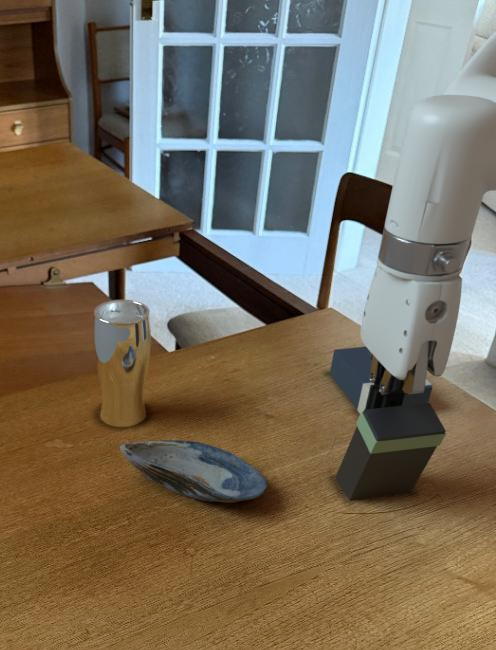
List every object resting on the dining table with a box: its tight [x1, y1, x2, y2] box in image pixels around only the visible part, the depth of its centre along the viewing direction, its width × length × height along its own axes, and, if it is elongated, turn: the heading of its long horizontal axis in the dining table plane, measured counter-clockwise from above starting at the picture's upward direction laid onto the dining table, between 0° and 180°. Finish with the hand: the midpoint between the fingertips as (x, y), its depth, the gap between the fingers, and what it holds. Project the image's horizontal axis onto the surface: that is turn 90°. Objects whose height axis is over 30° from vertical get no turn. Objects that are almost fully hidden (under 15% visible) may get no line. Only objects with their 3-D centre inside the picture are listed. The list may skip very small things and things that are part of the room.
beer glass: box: [92, 299, 152, 428], centre depth 92 cm, size 7×7×15 cm
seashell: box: [119, 439, 268, 503], centre depth 83 cm, size 15×12×5 cm
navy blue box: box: [329, 345, 433, 414], centre depth 98 cm, size 8×5×12 cm
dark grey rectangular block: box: [335, 402, 447, 501], centre depth 79 cm, size 8×4×11 cm, turn 99°
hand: (380, 419), depth 80 cm, fingers closed
